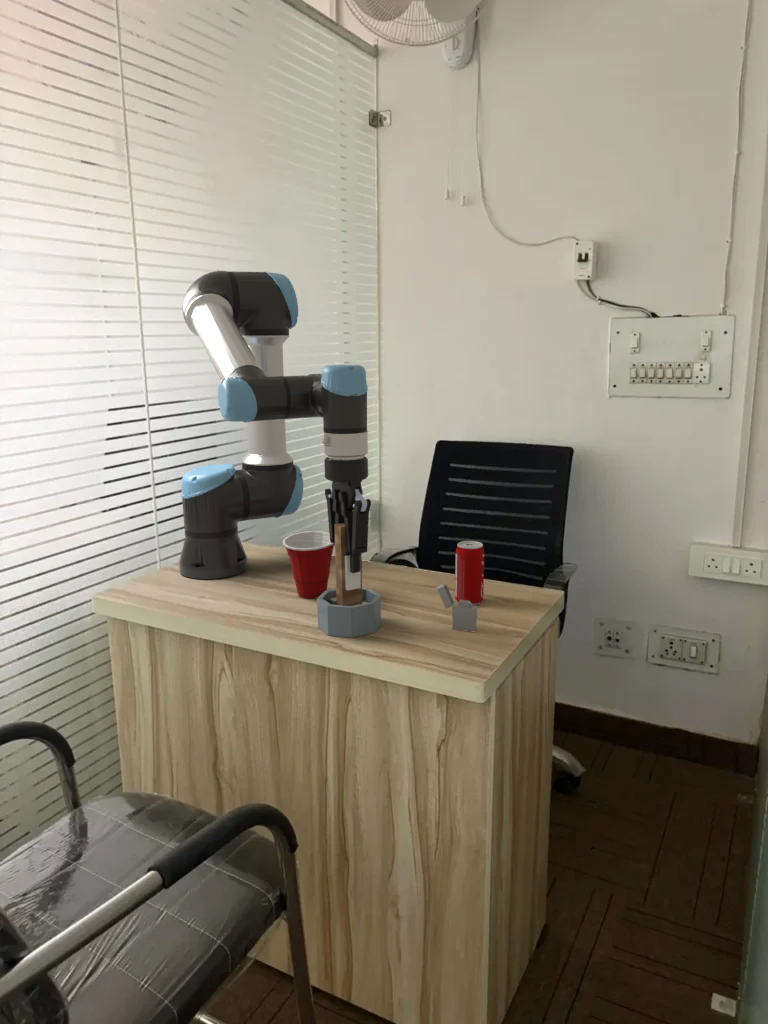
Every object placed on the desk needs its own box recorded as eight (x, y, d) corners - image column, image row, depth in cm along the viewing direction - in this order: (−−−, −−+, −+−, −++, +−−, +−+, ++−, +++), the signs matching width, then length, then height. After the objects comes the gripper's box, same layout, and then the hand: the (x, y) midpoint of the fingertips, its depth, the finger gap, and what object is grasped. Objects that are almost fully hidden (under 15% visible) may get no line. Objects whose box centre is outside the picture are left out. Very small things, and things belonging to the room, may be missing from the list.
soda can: (486, 605, 144) (487, 546, 141) (458, 607, 143) (459, 547, 141) (479, 596, 149) (480, 538, 147) (452, 597, 149) (453, 539, 146)
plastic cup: (274, 598, 149) (271, 541, 146) (304, 582, 158) (302, 528, 156) (319, 607, 144) (317, 547, 141) (347, 590, 153) (346, 534, 151)
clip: (330, 619, 136) (329, 598, 135) (353, 614, 138) (352, 594, 137) (345, 630, 131) (345, 609, 130) (369, 625, 133) (369, 604, 132)
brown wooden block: (336, 609, 134) (334, 524, 130) (356, 605, 136) (354, 521, 132) (342, 614, 132) (340, 526, 128) (362, 609, 134) (360, 523, 130)
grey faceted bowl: (310, 621, 137) (309, 593, 135) (361, 611, 142) (361, 583, 140) (336, 641, 128) (335, 611, 126) (389, 629, 133) (389, 600, 131)
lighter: (476, 628, 133) (477, 586, 131) (474, 632, 131) (475, 589, 129) (439, 623, 135) (439, 581, 133) (436, 626, 134) (436, 584, 132)
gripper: (307, 452, 132) (312, 578, 138) (347, 464, 119) (350, 602, 124) (345, 449, 136) (348, 571, 141) (387, 460, 123) (388, 594, 128)
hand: (349, 586), depth 133 cm, fingers closed on brown wooden block, 2 cm apart
